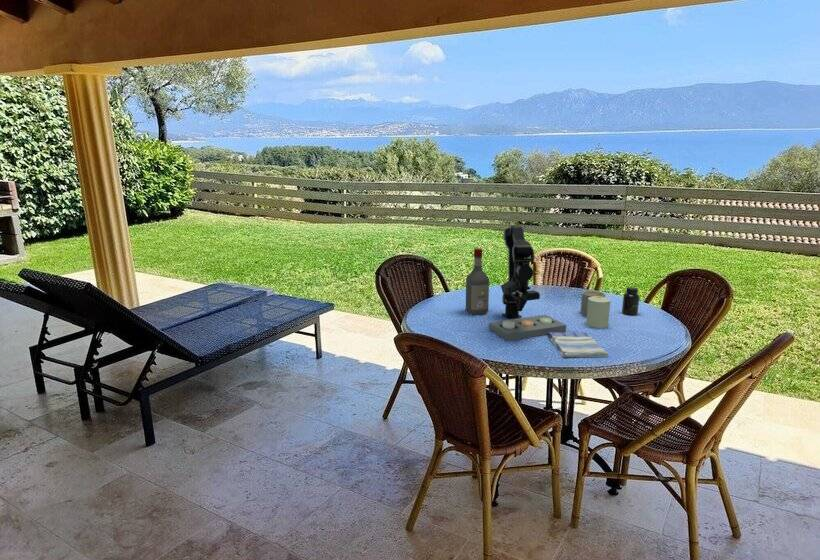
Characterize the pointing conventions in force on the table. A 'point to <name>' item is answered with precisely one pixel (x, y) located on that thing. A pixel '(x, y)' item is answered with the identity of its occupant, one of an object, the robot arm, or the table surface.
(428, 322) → the table surface
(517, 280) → the robot arm
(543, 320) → the sage button
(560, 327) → the button panel
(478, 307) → the liquor
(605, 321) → the sage green canister
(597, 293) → the coffee mug
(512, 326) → the cream button
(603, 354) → the dish towel
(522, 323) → the terracotta button
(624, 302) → the supplement bottle
